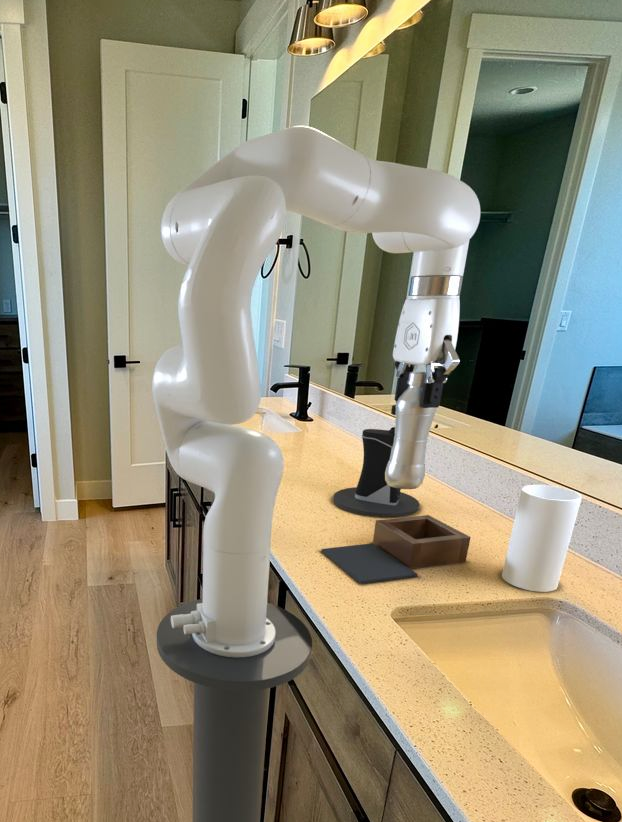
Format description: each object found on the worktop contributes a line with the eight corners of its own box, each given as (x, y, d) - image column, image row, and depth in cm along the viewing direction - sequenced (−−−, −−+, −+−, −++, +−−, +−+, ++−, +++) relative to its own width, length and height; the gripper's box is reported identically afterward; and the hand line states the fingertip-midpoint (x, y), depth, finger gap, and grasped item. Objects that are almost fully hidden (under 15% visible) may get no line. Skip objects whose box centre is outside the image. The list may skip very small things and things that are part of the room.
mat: (360, 584, 98) (361, 581, 98) (321, 551, 111) (321, 548, 110) (417, 576, 100) (417, 573, 100) (372, 545, 113) (372, 543, 113)
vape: (410, 523, 123) (429, 407, 114) (323, 508, 133) (334, 400, 124) (424, 498, 139) (442, 394, 129) (345, 486, 148) (356, 388, 139)
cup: (547, 597, 93) (571, 504, 87) (493, 579, 99) (513, 491, 93) (564, 581, 98) (589, 492, 92) (513, 565, 104) (532, 481, 98)
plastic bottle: (374, 485, 103) (391, 372, 96) (401, 480, 106) (419, 370, 99) (403, 495, 98) (423, 376, 91) (430, 490, 101) (451, 373, 94)
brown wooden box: (409, 569, 103) (413, 543, 101) (372, 543, 114) (375, 520, 112) (465, 561, 105) (470, 537, 104) (424, 537, 116) (428, 514, 114)
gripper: (381, 290, 97) (367, 397, 104) (451, 288, 82) (429, 413, 88) (420, 291, 99) (404, 396, 105) (495, 288, 83) (471, 412, 90)
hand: (416, 403), depth 97 cm, fingers closed on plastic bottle, 6 cm apart
